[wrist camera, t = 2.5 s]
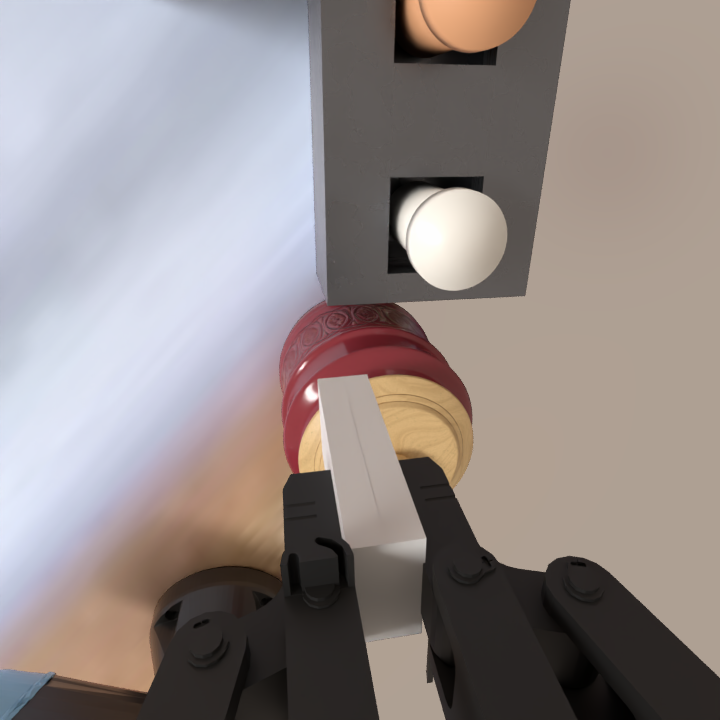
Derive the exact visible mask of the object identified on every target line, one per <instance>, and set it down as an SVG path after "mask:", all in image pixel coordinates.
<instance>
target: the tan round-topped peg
mask: <svg viewBox="0 0 720 720" xmlns="http://www.w3.org/2000/svg"><path fill="white" fill-rule="evenodd" d="M535 3H536V0H396V7H395V39H396V41H397V42H398V44H399V45H400V46H401V47H402V49H403V50H405V51H406V52H407V53H409V54H410V55H412V56H414V57H418V58H432V57H435V56H438V55H441V54H443V53H446V52H449V51H452V50H455V51H459V52H464V53H476V52H481V51H484V50H488V49H491V48H494V47H496V46H499V45H501V44H503V43H504V42H506V41H508V40H509V39H510V38H512V37H513V36H514V35H515V34H516V33H517V32H518V31H519V30H520V29H521V28H522V26H523V25H524V24H525V22H526V21H527V19H528V18H529V16H530V14H531V12H532V10H533V8H534V5H535Z"/></svg>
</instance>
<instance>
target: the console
mask: <svg viewBox="0 0 720 720" xmlns="http://www.w3.org/2000/svg"><path fill="white" fill-rule="evenodd" d="M570 1H571V0H536V3H535V5H534V8H533V10H532V12H531V14H530V16H529V18H528V19H527V21H526V22H525V24H524V25H523V26H522V28H521V29H520V30H519V31H518V32H517V33H516V34H515V35H514V36H513V37H512V38H510V39H509V40H508V41H506V42H504V43H503V44H501V45H499V46H496V47H494V48H491V49H488V50H484V51H481V52H476V53H464V52H459V51H455V50H452V51H449V52H446V53H443V54H441V55H438V56H435V57H432V58H418V57H414V56H412V55H410V54H409V53H407V52H406V51H405V50H403V49H402V47H401V46H400V45H399V44H398V42H397V41H396V39H395V7H396V0H308V22H309V54H310V85H311V117H312V148H313V180H314V211H315V243H316V273H317V276H318V279H319V282H320V285H321V288H322V291H323V294H324V297H325V300H326V303H327V306H336V305H356V304H376V303H396V302H413V301H414V302H415V301H434V300H453V299H475V298H493V297H494V298H495V297H514V296H525V294H526V287H527V281H528V274H529V267H530V261H531V255H532V248H533V241H534V235H535V229H536V222H537V215H538V209H539V203H540V196H541V189H542V183H543V177H544V170H545V164H546V157H547V151H548V144H549V138H550V131H551V125H552V118H553V111H554V104H555V99H556V92H557V85H558V79H559V72H560V66H561V59H562V53H563V46H564V40H565V33H566V27H567V20H568V14H569V8H570ZM412 181H423V182H427V183H430V184H432V185H435V186H438V187H440V188H443V189H447V188H453V187H462V188H468V189H471V190H474V191H477V192H480V193H482V194H484V195H486V196H488V197H489V198H491V199H492V200H493V201H494V202H495V203H496V204H497V205H498V206H499V208H500V209H501V211H502V213H503V215H504V218H505V221H506V225H507V243H506V248H505V251H504V254H503V256H502V259H501V261H500V262H499V264H498V266H497V267H496V268H495V270H494V271H493V272H492V273H491V274H490V275H489V276H488V277H487V278H486V279H485V280H483V281H482V282H480V283H479V284H477V285H475V286H473V287H470V288H468V289H463V290H457V291H449V290H443V289H440V288H437V287H435V286H433V285H431V284H430V283H428V282H427V281H426V280H425V279H423V278H422V277H421V276H420V275H419V274H418V273H417V271H416V270H415V269H414V268H413V266H412V264H411V263H410V260H409V258H408V255H407V251H406V250H405V249H404V248H403V247H402V246H401V245H400V244H399V243H398V242H397V241H396V240H395V239H394V238H393V237H392V236H391V235H390V233H389V205H390V197H391V195H392V194H393V193H394V191H396V190H397V189H398V188H399V187H400V186H402V185H404V184H406V183H408V182H412Z"/></svg>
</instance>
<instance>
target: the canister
mask: <svg viewBox="0 0 720 720" xmlns="http://www.w3.org/2000/svg"><path fill="white" fill-rule="evenodd" d="M279 373H280V384H281V389H282V392H283V400H282V423H283V428H284V433H283V444H284V451H285V455H286V459H287V462H288V464H289V466H290V468H291V470H292V472H293V474H297V473H305V472H314V471H322V470H325V467H324V460H323V454H322V440H321V425H320V410H319V396H318V381H317V379H322V378H333V377H343V376H354V375H365V374H367V376H368V379H369V381H370V384H371V387H372V390H373V392H374V395H375V398H376V401H377V403H378V406H379V409H380V412H381V414H382V417H383V420H384V423H385V425H386V428H387V431H388V434H389V436H390V439H391V442H392V445H393V448H394V450H395V453H396V456H397V459H398V460H404V459H413V458H421V457H429V458H431V459H432V460H433V461H434V462H435V463H437V464H438V465H439V466H440V467H441V468H442V469H443V471H444V473H445V475H446V477H447V479H448V481H449V485H450V486H451V488H452V490H453V488H454V487H455V486H456V484H457V483H458V482H459V481H460V479H461V478H462V476H463V474H464V473H465V471H466V469H467V466H468V463H469V461H470V458H471V454H472V448H473V430H472V407H471V402H470V398H469V395H468V393H467V390H466V388H465V386H464V384H463V383H462V381H461V379H460V378H459V377H458V376H457V374H456V373H455V372H454V371H453V370H452V369H451V368H450V367H449V365H448V363H447V361H446V360H445V358H444V357H443V355H442V354H441V353H440V352H439V351H438V350H437V349H436V348H435V347H434V346H433V345H432V344H431V343H430V342H429V341H428V339H427V336H426V335H425V332H424V331H423V329H422V328H421V326H420V325H419V324H418V322H417V321H416V320H415V319H414V318H413V317H412V315H410V314H409V313H408V312H407V311H406V310H405V309H403V308H402V307H400V306H399V305H397V304H395V303H376V304H356V305H336V306H327V303H326V300H325V301H323V302H321V303H319V304H317V305H316V306H314V307H313V308H311V309H310V310H309V311H307V312H306V313H305V314H304V315H303V316H302V317H301V318H300V319H299V320H298V321H297V323H296V324H295V325H294V327H293V328H292V330H291V332H290V333H289V335H288V337H287V339H286V342H285V344H284V346H283V349H282V353H281V357H280V365H279Z"/></svg>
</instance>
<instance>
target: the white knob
mask: <svg viewBox="0 0 720 720" xmlns="http://www.w3.org/2000/svg"><path fill="white" fill-rule="evenodd" d="M389 233H390V235H391V236H392V237H393V238H394V239H395V240H396V241H397V242H398V243H399V244H400V245H401V246H402V247H403V248H404V249H405V250H406V251H407V255H408V258H409V260H410V263H411V264H412V266H413V268H414V269H415V270H416V271H417V273H418V274H419V275H420V276H421V277H422V278H423V279H425V280H426V281H427V282H428V283H430V284H431V285H433V286H435V287H437V288H440V289H443V290H449V291H457V290H463V289H468V288H470V287H473V286H475V285H477V284H479V283H480V282H482V281H483V280H485V279H486V278H487V277H488V276H489V275H490V274H491V273H492V272H493V271H494V270H495V268H496V267H497V266H498V264H499V262H500V261H501V259H502V256H503V254H504V251H505V248H506V243H507V225H506V221H505V218H504V215H503V213H502V211H501V209H500V208H499V206H498V205H497V204H496V203H495V202H494V201H493V200H492V199H491V198H489V197H488V196H486V195H484V194H482V193H480V192H477V191H474V190H471V189H468V188H462V187H453V188H447V189H443V188H440V187H438V186H435V185H432V184H430V183H427V182H423V181H412V182H408V183H406V184H404V185H402V186H400V187H399V188H398V189H397V190H396V191H394V193H393V194H392V195H391V197H390V205H389Z"/></svg>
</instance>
